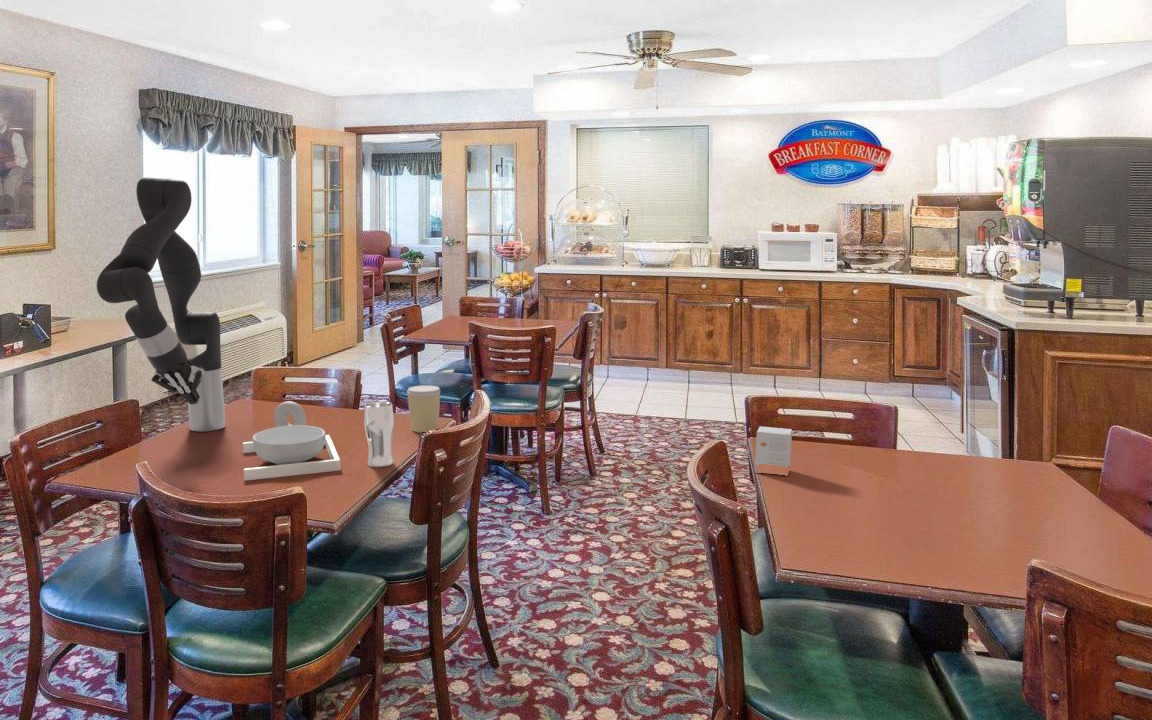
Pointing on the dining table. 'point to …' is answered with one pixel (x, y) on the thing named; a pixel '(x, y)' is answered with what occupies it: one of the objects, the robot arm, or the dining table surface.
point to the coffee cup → (424, 407)
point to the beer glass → (379, 433)
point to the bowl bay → (293, 465)
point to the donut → (290, 408)
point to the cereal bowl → (289, 443)
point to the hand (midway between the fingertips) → (194, 401)
